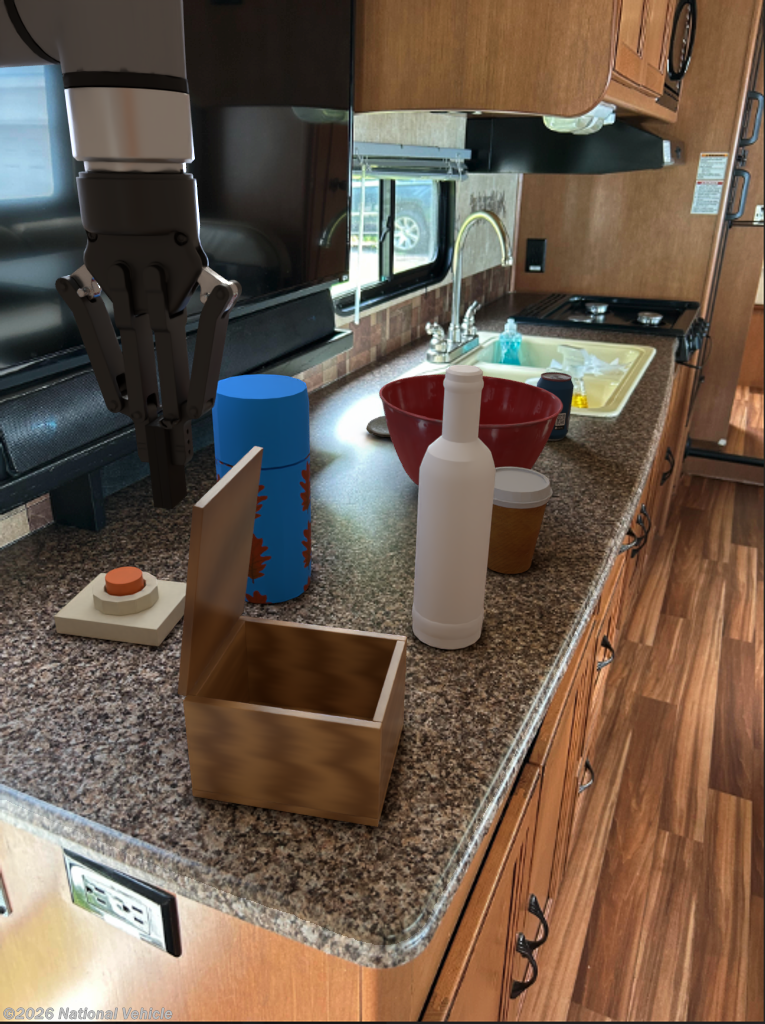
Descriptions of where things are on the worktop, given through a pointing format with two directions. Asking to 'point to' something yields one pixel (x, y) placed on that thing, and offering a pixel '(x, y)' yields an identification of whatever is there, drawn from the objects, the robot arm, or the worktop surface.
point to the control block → (124, 612)
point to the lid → (378, 427)
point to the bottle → (454, 520)
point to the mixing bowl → (502, 423)
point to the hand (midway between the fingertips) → (170, 501)
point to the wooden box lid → (218, 565)
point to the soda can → (564, 391)
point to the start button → (124, 581)
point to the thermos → (271, 476)
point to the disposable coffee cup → (516, 518)
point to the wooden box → (298, 719)
